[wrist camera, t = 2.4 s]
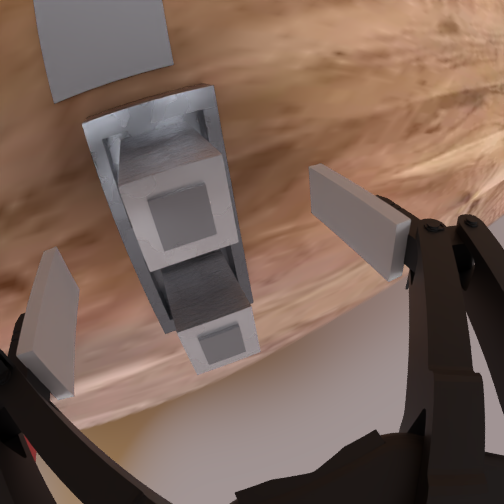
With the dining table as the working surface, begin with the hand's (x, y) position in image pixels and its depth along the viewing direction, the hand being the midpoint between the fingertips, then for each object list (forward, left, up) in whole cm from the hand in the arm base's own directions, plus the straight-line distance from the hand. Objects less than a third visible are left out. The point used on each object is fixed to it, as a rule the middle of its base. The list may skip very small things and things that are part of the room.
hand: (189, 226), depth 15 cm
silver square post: (+10, 0, -11) cm, 14 cm away
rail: (+5, 0, -11) cm, 12 cm away
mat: (-12, -2, -11) cm, 16 cm away
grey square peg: (0, 0, -11) cm, 11 cm away
